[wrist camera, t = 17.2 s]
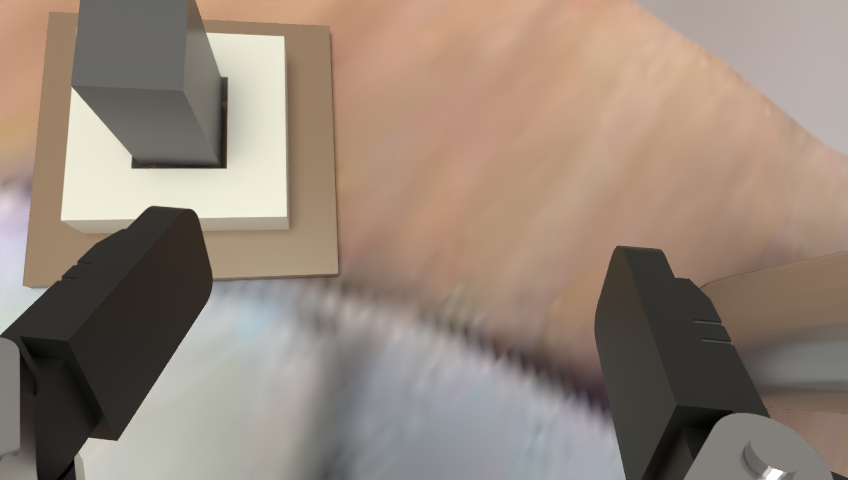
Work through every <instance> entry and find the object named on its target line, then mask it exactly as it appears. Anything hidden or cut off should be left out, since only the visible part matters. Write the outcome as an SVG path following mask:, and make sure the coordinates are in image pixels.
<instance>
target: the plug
mask: <svg viewBox="0 0 848 480" xmlns="http://www.w3.org/2000/svg"><path fill="white" fill-rule="evenodd" d="M71 86H72V88H73V89H74V90H75V91H76V92H77V93H78V94H79V96H80V97H81V98H82V99H83V100H84V101H85V102H86V104H87V105H88V106H89V107H90V108H91V109H92V110H93V112H94V113H95V114H96V115H97V116H98V117H99V118H100V120H101V121H102V122H103V123H104V124H105V125H106V126H107V128H108V129H109V130H110V131H111V132H112V133H113V134H114V136H115V137H116V138H117V139H118V140H119V141H120V143H121V144H122V145H123V146H124V147H125V148H126V149H127V151H128V152H129V153H130V154H131V155H132V156H133V157H134V159H135V160H136V161H137V162H138V163H139V164H140V165H155V166H156V167H157V169H222V150H223V124H224V111H223V108H222V105H223V81H222V78H221V75H220V72H219V69H218V67H217V64H216V61H215V58H214V55H213V52H212V49H211V46H210V43H209V40H208V37H207V34H206V31H205V28H204V25H203V22H202V19H201V16H200V13H199V10H198V7H197V4H196V1H195V0H80V7H79V16H78V25H77V34H76V43H75V52H74V61H73V70H72V79H71Z"/></svg>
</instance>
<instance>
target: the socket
mask: <svg viewBox="0 0 848 480" xmlns="http://www.w3.org/2000/svg"><path fill="white" fill-rule="evenodd" d="M78 16H79V13H62V12H49V20H48V30H47V40H46V50H45V61H44V71H43V81H42V92H41V102H40V112H39V122H38V133H37V143H36V153H35V164H34V174H33V184H32V194H31V205H30V215H29V225H28V236H27V246H26V256H25V266H24V277H23V286H26V287H30V288H46V287H51V286H52V285H53V284H54V283H55V282H56V281H57V280H59V281H61V279H62V277H61V276H62V275H63V274H65V273H66V272H67V271H68V270H69V269H70V268H71V267H72V266H73V265H77V261H78V260H79V259H80V258H81V257H82V256H83V255H84V254H85V253H86V252H87V251H88V250H89V249H91V248H92V247H93V246H94V245H95V244H96V243H97V242H99V241H101V240H103V239H105V238H106V237H108V236H110V235H112V234H114V233H116V232H117V231H119V230H121V229H127V228H128V227H129V226H130V225H131V224H132V223H133V222H134V221H135V220H136V219H137V218H138V217H139V216H140V215H141V214H142V213H143V212H144V211H145V210H146V209H147V208H148V207H150V206H163V207H175V208H187V209H192V210H194V211H195V212H196V214H197V215H198V218H199V221H200V225H201V229H202V233H203V237H204V241H205V245H206V249H207V253H208V257H209V261H210V265H211V269H212V275H213V281H225V280H250V279H276V278H301V277H327V276H338V251H337V223H336V195H335V167H334V139H333V111H332V83H331V55H330V27H329V26H316V25H296V24H277V23H257V22H238V21H218V20H202V22H203V25H204V28H205V31H206V34H207V37H208V40H209V43H210V46H211V49H212V52H213V55H214V58H215V61H216V64H217V67H218V69H219V72H220V75H221V78H222V81H223V105H222V108H223V111H224V124H223V150H222V169H157V167H156V166H155V165H140V164H139V163H138V162H137V161H136V160H135V159H134V157H133V156H132V155H131V154H130V153H129V152H128V151H127V149H126V148H125V147H124V146H123V145H122V144H121V143H120V141H119V140H118V139H117V138H116V137H115V136H114V134H113V133H112V132H111V131H110V130H109V129H108V128H107V126H106V125H105V124H104V123H103V122H102V121H101V120H100V118H99V117H98V116H97V115H96V114H95V113H94V112H93V110H92V109H91V108H90V107H89V106H88V105H87V104H86V102H85V101H84V100H83V99H82V98H81V97H80V96H79V94H78V93H77V92H76V91H75V90H74V89H73V88H72V86H71V79H72V70H73V61H74V52H75V43H76V34H77V25H78Z"/></svg>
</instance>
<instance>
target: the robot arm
mask: <svg viewBox="0 0 848 480" xmlns="http://www.w3.org/2000/svg"><path fill="white" fill-rule="evenodd" d="M61 277H62V279H61V281H59V280H57V281H56V282H55V283H54V284H53V285H52V286H51V287H50V288H49V289H48V290H47V291H46V292H45V293H44V294H43V295H42V296H41V297H40V298H39V299H37V300H36V301H35V302H34V303H33V304H32V305H31V306H30V307H29V308H28V309H27V310H26V311H25V312H24V313H23V314H22V315H21V316H20V317H19V318H18V319H17V320H16V321H15V322H14V323H12V324H11V325H10V326H9V327H8V328H7V329H6V330H5V331H4V332H3V333H2V334H1V335H0V480H85V474H84V465H83V460H82V458H81V456H80V454H79V450H80V449H81V448H82V446H83V445H84V443H85V442H86V440H87V439H88V438H97V439H106V440H115V441H118V439H119V438H120V436H121V434H122V433H123V431H124V430H125V428H126V427H127V425H128V424H129V422H130V421H131V419H132V417H133V416H134V414H135V413H136V411H137V410H138V408H139V407H140V405H141V404H142V402H143V400H144V399H145V397H146V396H147V394H148V393H149V391H150V390H151V388H152V387H153V385H154V383H155V382H156V380H157V379H158V377H159V376H160V374H161V373H162V371H163V370H164V368H165V366H166V365H167V363H168V362H169V360H170V359H171V357H172V356H173V354H174V353H175V351H176V349H177V348H178V346H179V345H180V343H181V342H182V340H183V339H184V337H185V336H186V334H187V332H188V331H189V329H190V328H191V326H192V325H193V323H194V322H195V320H196V319H197V317H198V315H199V314H200V312H201V311H202V309H203V308H204V306H205V305H206V303H207V301H208V299H209V297H210V294H211V290H212V283H213V275H212V269H211V265H210V261H209V257H208V253H207V249H206V245H205V241H204V237H203V233H202V229H201V225H200V221H199V218H198V215H197V214H196V212H195V211H194V210H192V209H187V208H175V207H163V206H150V207H148V208H147V209H146V210H145V211H144V212H143V213H142V214H141V215H140V216H139V217H138V218H137V219H136V220H135V221H134V222H133V223H132V224H131V225H130V226H129V227H128V228H127V229H121V230H119V231H117V232H116V233H114V234H112V235H110V236H108V237H106V238H105V239H103V240H101V241H99V242H97V243H96V244H95V245H94V246H93V247H92V248H91V249H89V250H88V251H87V252H86V253H85V254H84V255H83V256H82V257H81V258H80V259H79V260H78V261H77V265H73V266H72V267H71V268H70V269H69V270H68V271H67V272H66V273H65V274H63V275H62V276H61ZM595 340H596V345H597V349H598V354H599V358H600V363H601V368H602V372H603V377H604V381H605V386H606V390H607V395H608V399H609V404H610V408H611V413H612V418H613V422H614V427H615V431H616V436H617V440H618V445H619V449H620V454H621V458H622V463H623V468H624V472H625V477H626V480H848V478H847V477H844V476H841V475H839V474H837V473H834V472H832V471H830V469H829V467H828V466H827V464H826V462H825V460H824V459H823V458H822V456H821V455H820V454H819V452H818V451H817V450H816V449H815V448H814V447H813V446H812V445H811V444H810V443H809V442H808V441H807V440H806V439H805V438H803V437H802V436H801V435H799V434H798V433H797V432H795V431H794V430H792V429H790V428H789V427H787V426H786V425H784V424H781V423H779V422H777V421H775V420H773V419H771V418H770V416H769V414H768V412H767V410H766V408H765V407H772V408H783V409H793V410H805V411H818V412H830V413H842V414H848V251H843V252H839V253H834V254H830V255H826V256H821V257H817V258H812V259H808V260H804V261H799V262H795V263H791V264H786V265H782V266H777V267H773V268H769V269H764V270H759V271H755V272H750V273H746V274H741V275H737V276H733V277H728V278H724V279H720V280H717V281H713V282H710V283H708V284H707V285H705V286H703V287H702V288H700V289H699V288H698V287H697V286H696V285H695V284H694V283H693V282H692V281H691V280H690V279H684V278H675V277H674V275H673V272H672V270H671V268H670V266H669V264H668V261H667V259H666V257H665V255H664V253H663V251H662V250H660V249H654V248H642V247H630V246H617V247H616V248H615V250H614V252H613V254H612V257H611V260H610V264H609V267H608V271H607V274H606V278H605V281H604V284H603V288H602V291H601V295H600V298H599V301H598V305H597V309H596V314H595Z"/></svg>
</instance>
